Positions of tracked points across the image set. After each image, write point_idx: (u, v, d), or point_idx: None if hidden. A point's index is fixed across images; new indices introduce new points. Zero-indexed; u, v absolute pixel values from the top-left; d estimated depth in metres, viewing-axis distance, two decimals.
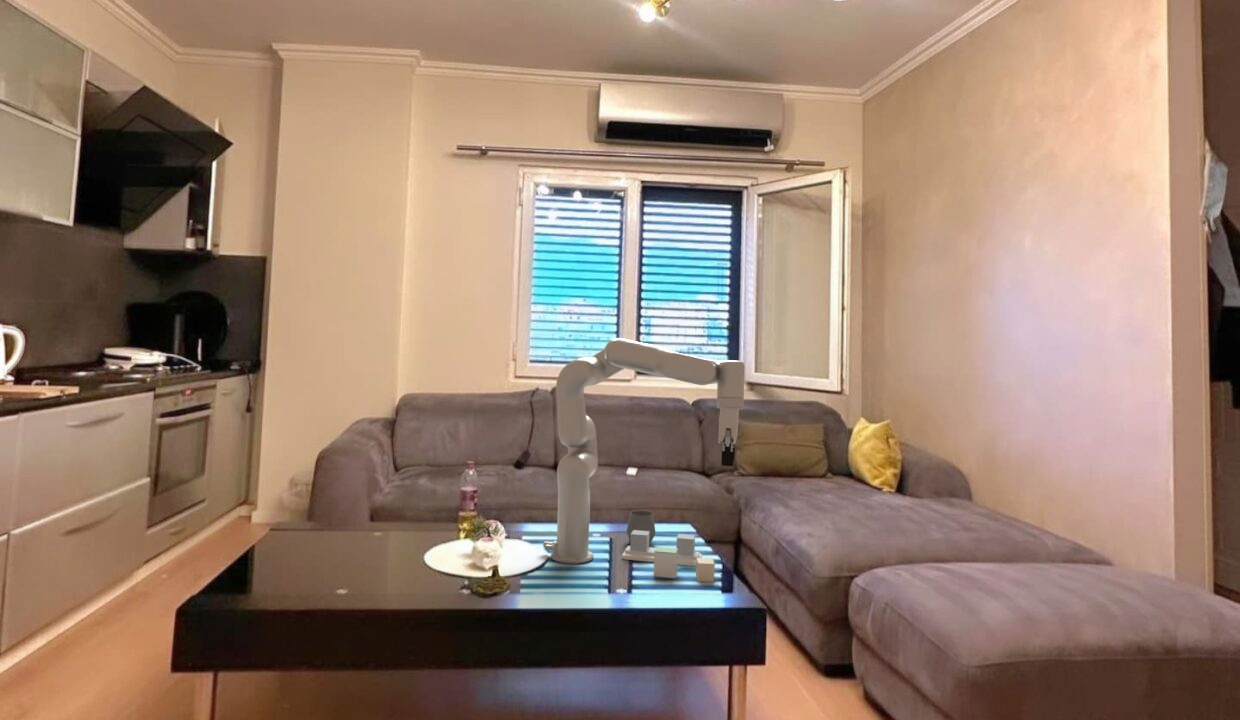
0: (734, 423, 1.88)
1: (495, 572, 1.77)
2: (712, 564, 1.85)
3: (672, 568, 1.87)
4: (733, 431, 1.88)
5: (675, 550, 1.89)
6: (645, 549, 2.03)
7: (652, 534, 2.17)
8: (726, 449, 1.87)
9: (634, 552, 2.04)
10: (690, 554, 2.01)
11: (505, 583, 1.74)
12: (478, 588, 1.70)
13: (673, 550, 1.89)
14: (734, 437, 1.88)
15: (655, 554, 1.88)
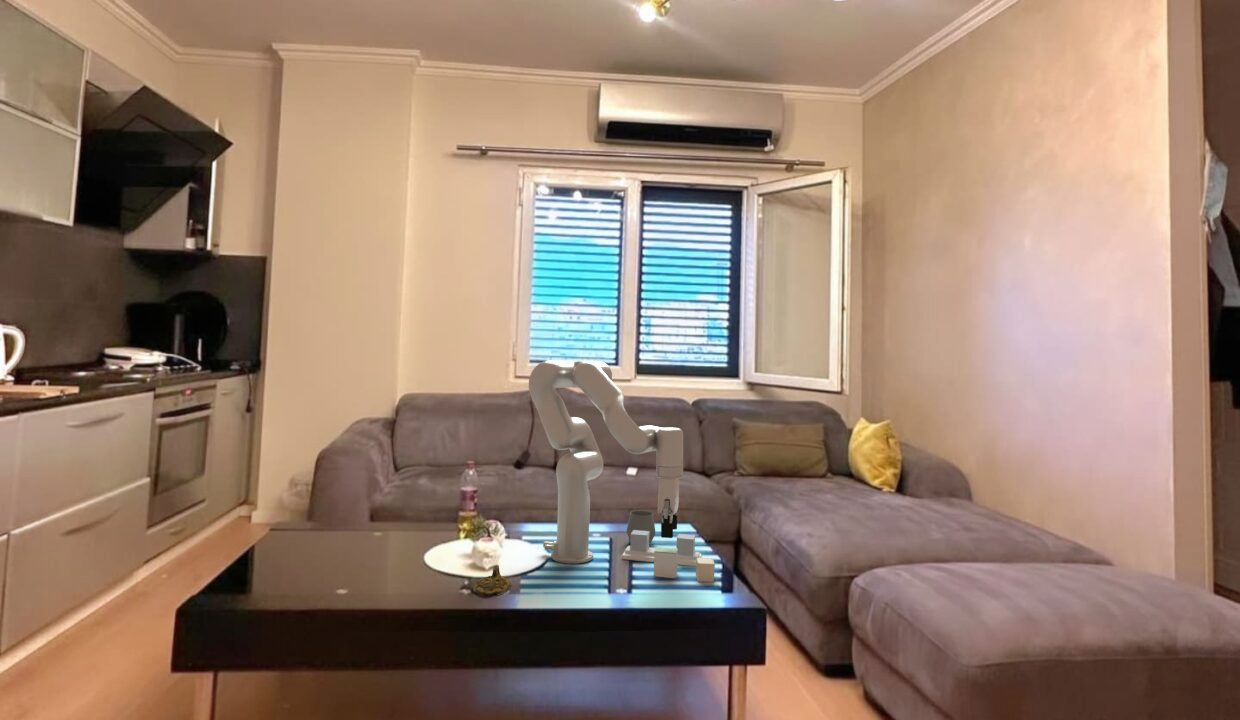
0: (673, 493, 1.84)
1: (496, 572, 1.77)
2: (712, 564, 1.85)
3: (672, 568, 1.87)
4: (672, 502, 1.84)
5: (675, 550, 1.89)
6: (645, 549, 2.03)
7: (652, 534, 2.17)
8: (665, 521, 1.83)
9: (634, 552, 2.04)
10: (690, 554, 2.01)
11: (505, 583, 1.74)
12: (478, 588, 1.70)
13: (673, 550, 1.89)
14: (673, 508, 1.84)
15: (655, 554, 1.88)
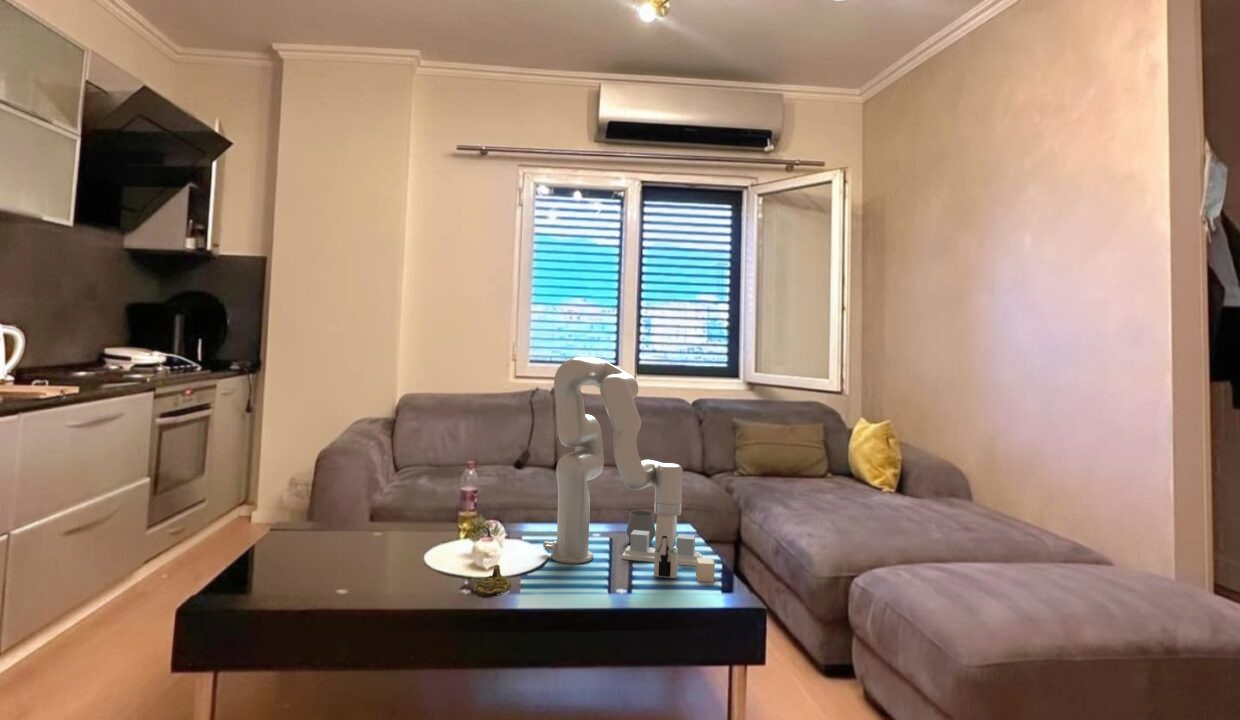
0: (670, 531, 1.85)
1: (496, 572, 1.77)
2: (712, 564, 1.85)
3: (672, 568, 1.87)
4: (669, 539, 1.84)
5: (675, 550, 1.89)
6: (645, 549, 2.03)
7: (652, 534, 2.17)
8: (663, 560, 1.85)
9: (634, 552, 2.04)
10: (690, 554, 2.01)
11: (506, 583, 1.74)
12: (478, 588, 1.71)
13: (673, 550, 1.89)
14: (670, 545, 1.84)
15: (655, 554, 1.88)
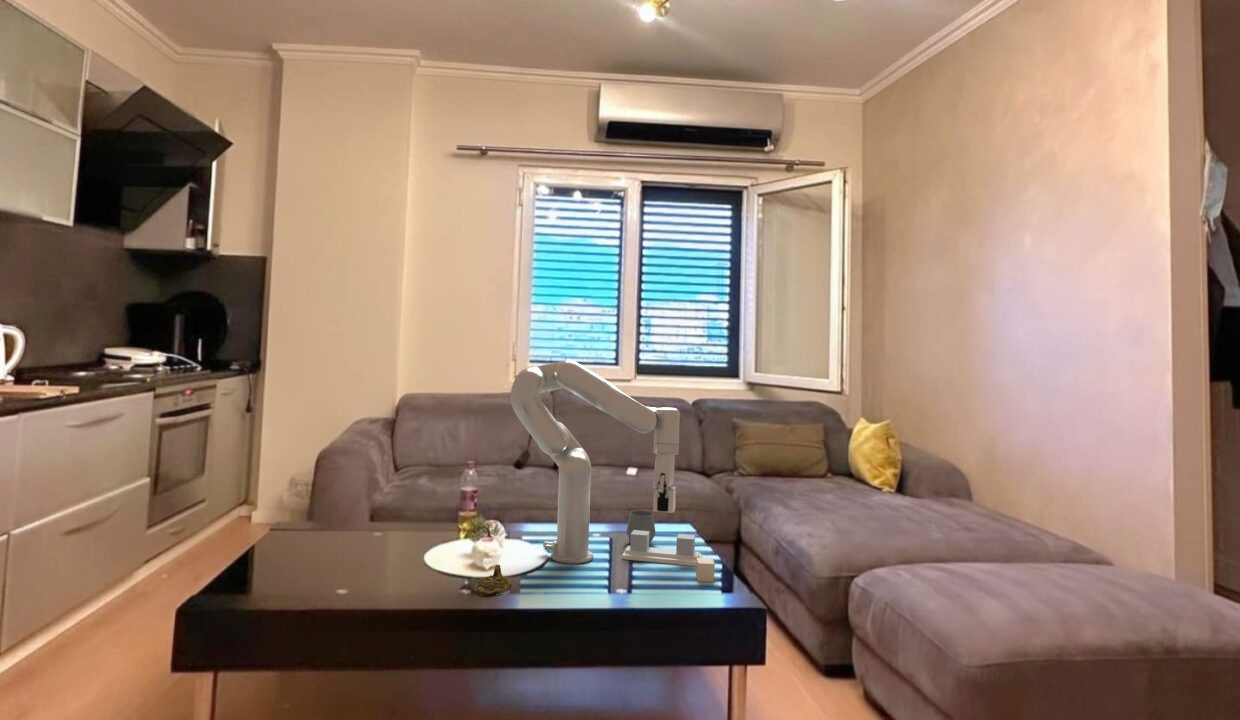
0: (668, 468, 1.99)
1: (497, 572, 1.78)
2: (712, 564, 1.85)
3: (670, 503, 2.01)
4: (667, 476, 1.99)
5: (673, 487, 2.04)
6: (645, 549, 2.03)
7: (652, 534, 2.17)
8: (661, 495, 2.00)
9: (634, 552, 2.04)
10: (690, 554, 2.01)
11: (506, 583, 1.74)
12: (479, 587, 1.71)
13: (671, 487, 2.04)
14: (668, 481, 1.99)
15: (654, 491, 2.02)
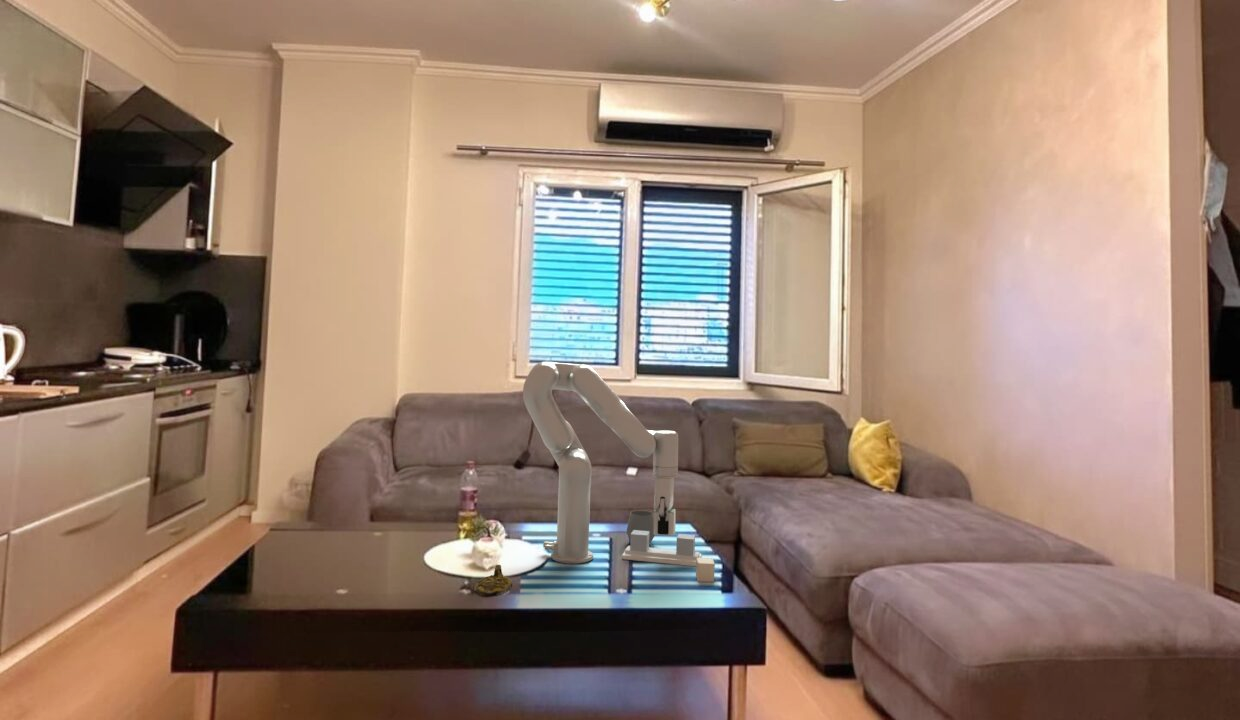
0: (668, 492, 2.00)
1: (497, 571, 1.78)
2: (712, 564, 1.85)
3: (670, 526, 2.02)
4: (667, 499, 2.00)
5: (673, 510, 2.04)
6: (645, 549, 2.03)
7: (652, 534, 2.17)
8: (661, 519, 2.01)
9: (634, 552, 2.04)
10: (690, 554, 2.01)
11: (506, 583, 1.74)
12: (479, 587, 1.71)
13: (671, 510, 2.05)
14: (668, 505, 2.00)
15: (655, 514, 2.03)
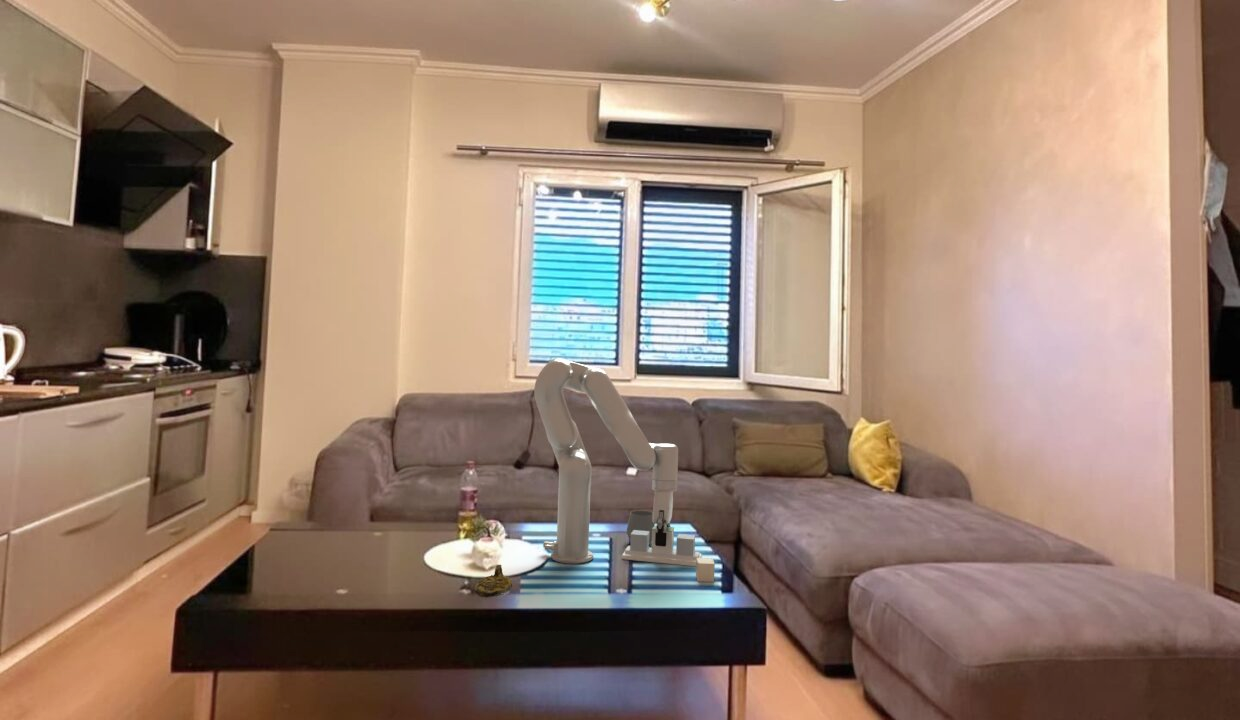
0: (667, 505, 2.00)
1: (498, 571, 1.78)
2: (712, 564, 1.85)
3: (668, 545, 2.02)
4: (666, 513, 2.00)
5: (671, 528, 2.04)
6: (645, 549, 2.03)
7: None
8: (659, 531, 1.99)
9: (634, 552, 2.04)
10: (690, 554, 2.01)
11: (507, 582, 1.74)
12: (479, 587, 1.71)
13: (670, 528, 2.05)
14: (667, 518, 2.00)
15: (653, 532, 2.03)
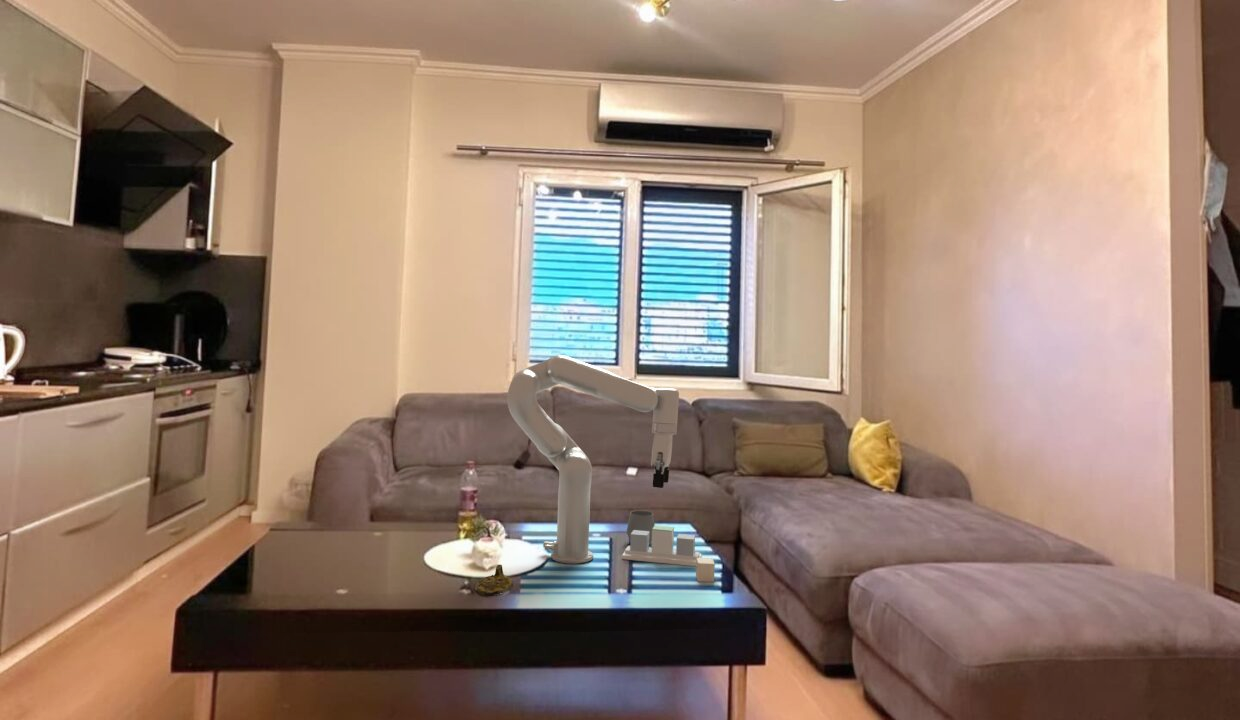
0: (666, 447, 2.01)
1: (498, 571, 1.78)
2: (712, 564, 1.85)
3: (668, 545, 2.02)
4: (664, 455, 2.01)
5: (671, 528, 2.04)
6: (645, 549, 2.03)
7: None
8: (657, 472, 2.00)
9: (634, 552, 2.04)
10: (690, 554, 2.01)
11: (507, 582, 1.75)
12: (480, 587, 1.71)
13: (670, 528, 2.05)
14: (665, 461, 2.01)
15: (653, 532, 2.03)
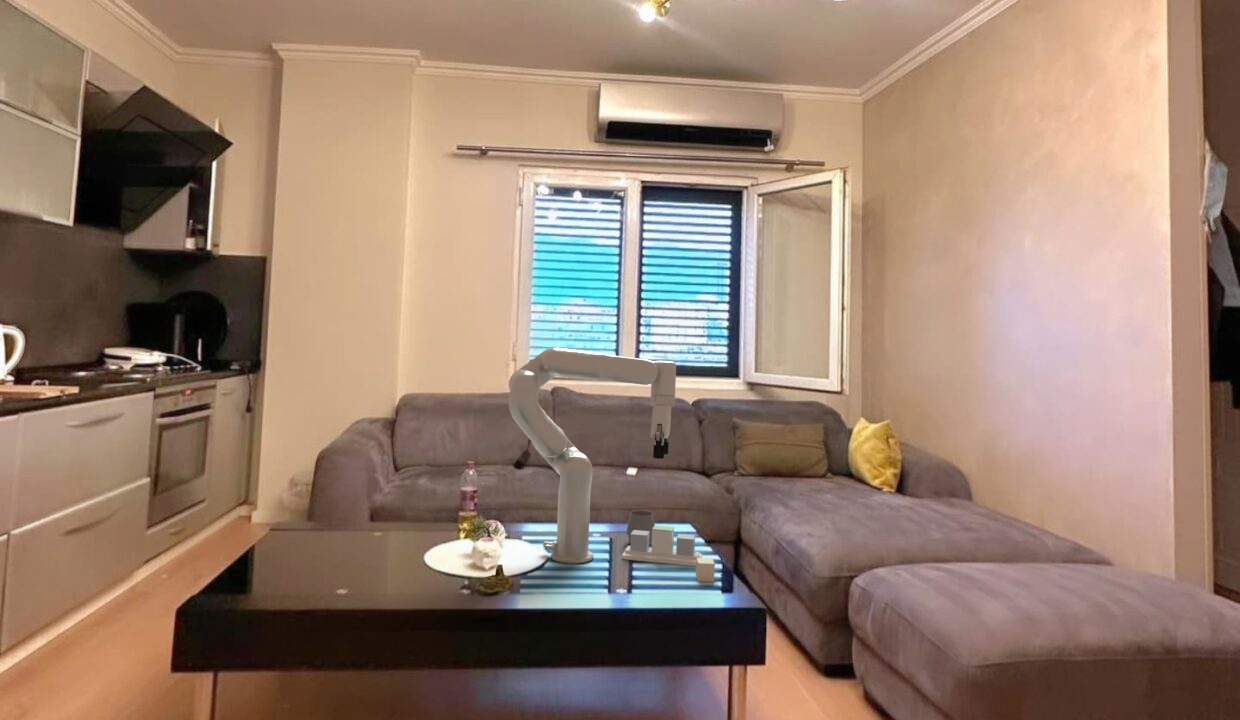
0: (665, 419, 2.04)
1: (499, 571, 1.78)
2: (712, 564, 1.85)
3: (668, 545, 2.02)
4: (664, 426, 2.04)
5: (671, 528, 2.04)
6: (645, 549, 2.03)
7: None
8: (657, 443, 2.03)
9: (634, 552, 2.04)
10: (690, 554, 2.01)
11: (508, 582, 1.75)
12: (480, 587, 1.71)
13: (670, 528, 2.05)
14: (665, 432, 2.04)
15: (653, 532, 2.03)
